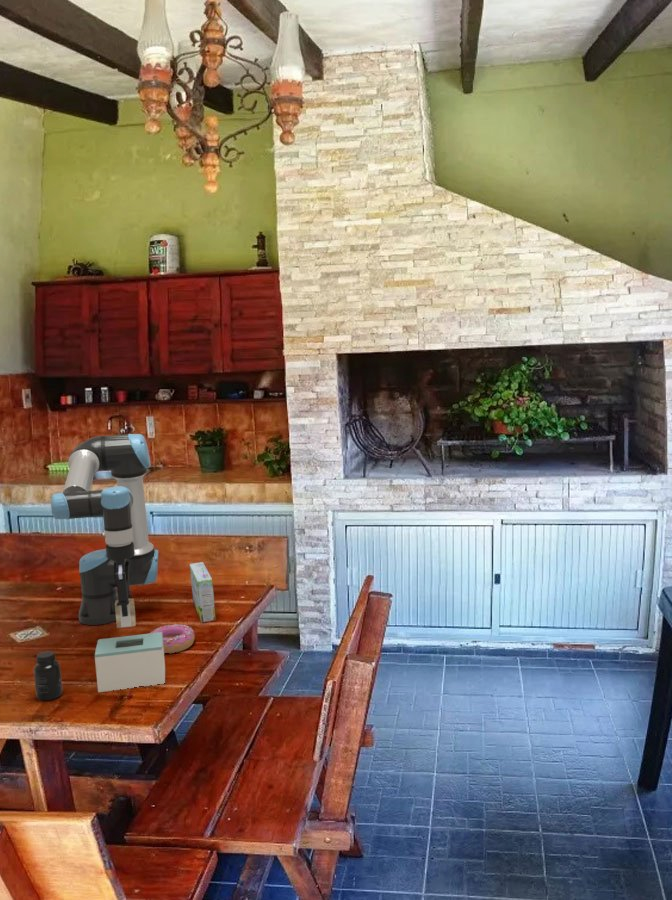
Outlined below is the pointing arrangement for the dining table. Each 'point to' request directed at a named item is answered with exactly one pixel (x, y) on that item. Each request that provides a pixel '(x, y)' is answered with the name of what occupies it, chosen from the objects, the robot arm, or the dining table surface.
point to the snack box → (202, 592)
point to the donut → (176, 637)
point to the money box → (130, 662)
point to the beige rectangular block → (132, 613)
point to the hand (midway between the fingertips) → (126, 623)
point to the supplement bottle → (47, 676)
